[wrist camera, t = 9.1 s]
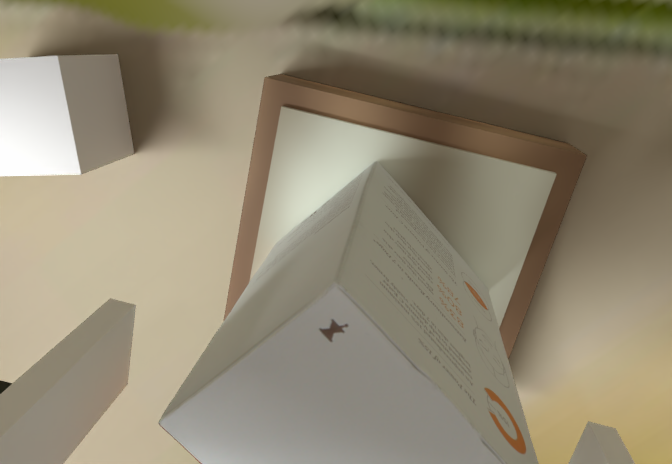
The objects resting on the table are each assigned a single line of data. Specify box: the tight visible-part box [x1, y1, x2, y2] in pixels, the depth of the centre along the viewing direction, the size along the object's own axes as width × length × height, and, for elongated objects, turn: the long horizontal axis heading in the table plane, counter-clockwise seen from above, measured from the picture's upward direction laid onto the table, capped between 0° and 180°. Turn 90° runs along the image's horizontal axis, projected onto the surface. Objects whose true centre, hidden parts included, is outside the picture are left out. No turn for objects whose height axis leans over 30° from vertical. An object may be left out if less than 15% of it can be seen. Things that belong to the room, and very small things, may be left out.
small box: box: [159, 161, 538, 464], centre depth 19 cm, size 8×6×13 cm
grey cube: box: [0, 54, 134, 176], centre depth 26 cm, size 5×5×5 cm
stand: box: [224, 74, 587, 359], centre depth 27 cm, size 14×14×3 cm
